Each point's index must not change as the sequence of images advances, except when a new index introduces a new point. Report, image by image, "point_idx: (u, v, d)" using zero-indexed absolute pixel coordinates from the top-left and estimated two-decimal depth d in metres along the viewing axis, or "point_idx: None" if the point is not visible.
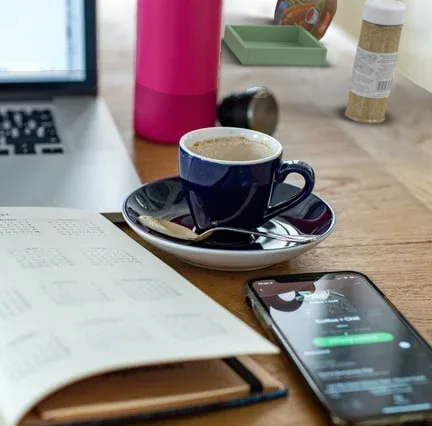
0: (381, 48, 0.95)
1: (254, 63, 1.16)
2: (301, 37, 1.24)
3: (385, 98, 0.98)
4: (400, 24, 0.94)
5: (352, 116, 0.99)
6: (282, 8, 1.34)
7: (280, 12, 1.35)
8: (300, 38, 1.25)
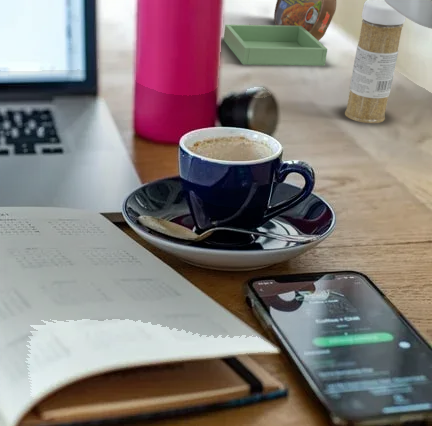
0: (381, 48, 0.95)
1: (254, 63, 1.16)
2: (301, 37, 1.24)
3: (385, 98, 0.98)
4: (400, 24, 0.94)
5: (352, 116, 0.99)
6: (282, 8, 1.34)
7: (280, 12, 1.35)
8: (300, 38, 1.25)
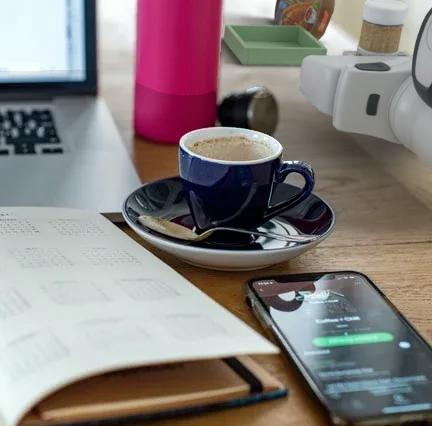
0: (381, 48, 0.95)
1: (254, 63, 1.16)
2: (301, 37, 1.24)
3: None
4: (400, 24, 0.94)
5: None
6: (282, 8, 1.34)
7: (280, 12, 1.35)
8: (300, 38, 1.25)
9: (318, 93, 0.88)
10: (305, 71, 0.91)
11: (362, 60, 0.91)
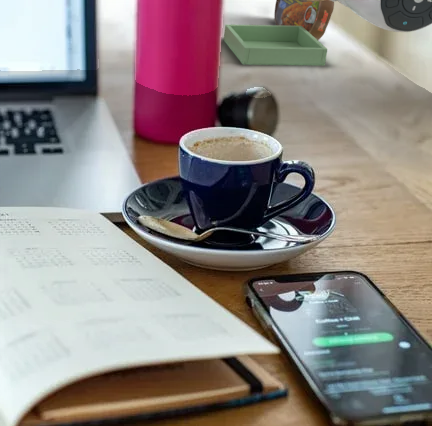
0: None
1: (254, 63, 1.16)
2: (301, 37, 1.24)
3: None
4: None
5: None
6: (281, 8, 1.34)
7: (280, 12, 1.35)
8: (300, 38, 1.25)
9: None
10: None
11: None
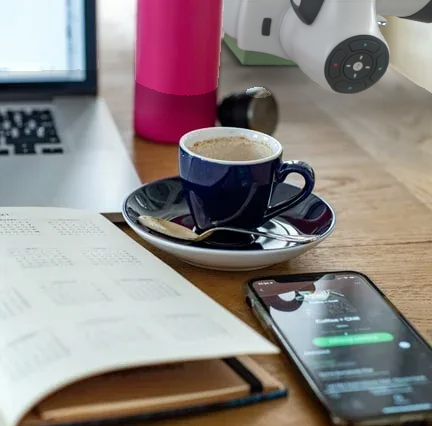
0: None
1: (254, 63, 1.16)
2: None
3: None
4: None
5: None
6: None
7: None
8: None
9: (226, 20, 1.09)
10: None
11: None
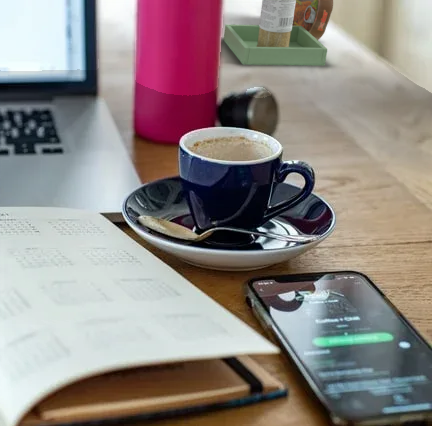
0: None
1: (254, 63, 1.16)
2: (301, 37, 1.24)
3: (287, 33, 1.18)
4: None
5: None
6: None
7: None
8: (300, 38, 1.25)
9: None
10: None
11: None
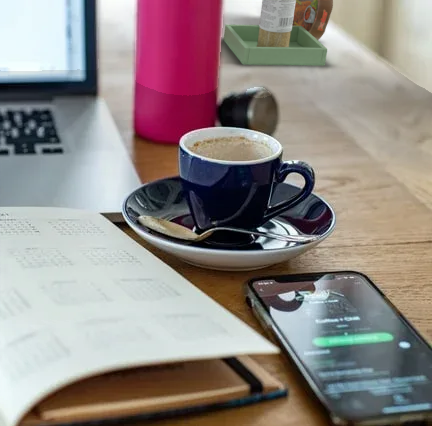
0: None
1: (254, 63, 1.16)
2: (301, 37, 1.24)
3: (287, 33, 1.18)
4: None
5: None
6: None
7: None
8: (300, 38, 1.25)
9: None
10: None
11: None
